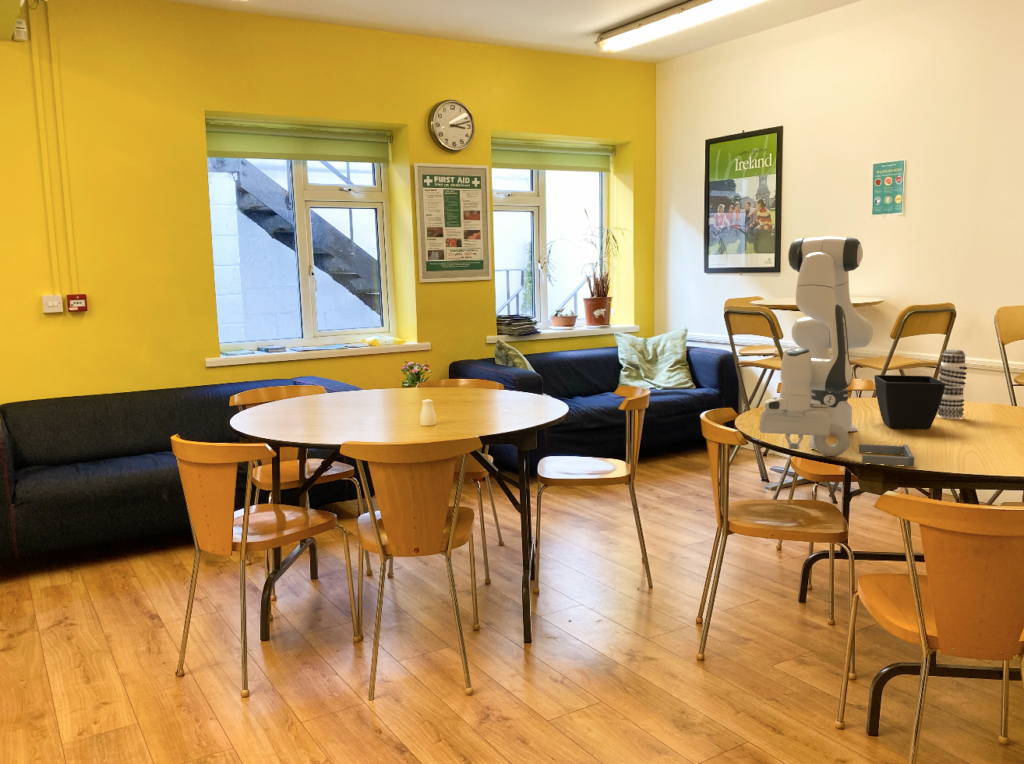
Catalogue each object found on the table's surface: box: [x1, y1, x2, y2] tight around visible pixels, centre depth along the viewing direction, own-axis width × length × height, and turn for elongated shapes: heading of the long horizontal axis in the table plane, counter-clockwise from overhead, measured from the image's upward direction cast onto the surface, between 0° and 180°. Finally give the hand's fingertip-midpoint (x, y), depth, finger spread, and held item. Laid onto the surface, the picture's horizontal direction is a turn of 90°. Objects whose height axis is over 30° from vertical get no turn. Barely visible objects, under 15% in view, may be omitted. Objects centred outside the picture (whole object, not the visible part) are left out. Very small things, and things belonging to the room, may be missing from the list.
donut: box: [814, 423, 851, 457], centre depth 245 cm, size 10×4×10 cm, turn 65°
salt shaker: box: [809, 435, 817, 449], centre depth 255 cm, size 4×4×9 cm
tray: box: [858, 443, 915, 466], centre depth 240 cm, size 17×13×3 cm
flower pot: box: [874, 374, 945, 430], centre depth 291 cm, size 19×19×17 cm
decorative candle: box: [937, 349, 968, 420], centre depth 306 cm, size 9×9×25 cm
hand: (793, 448), depth 249 cm, fingers closed
